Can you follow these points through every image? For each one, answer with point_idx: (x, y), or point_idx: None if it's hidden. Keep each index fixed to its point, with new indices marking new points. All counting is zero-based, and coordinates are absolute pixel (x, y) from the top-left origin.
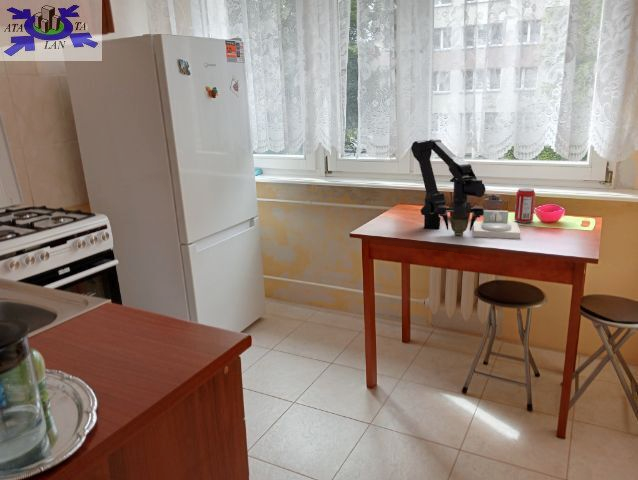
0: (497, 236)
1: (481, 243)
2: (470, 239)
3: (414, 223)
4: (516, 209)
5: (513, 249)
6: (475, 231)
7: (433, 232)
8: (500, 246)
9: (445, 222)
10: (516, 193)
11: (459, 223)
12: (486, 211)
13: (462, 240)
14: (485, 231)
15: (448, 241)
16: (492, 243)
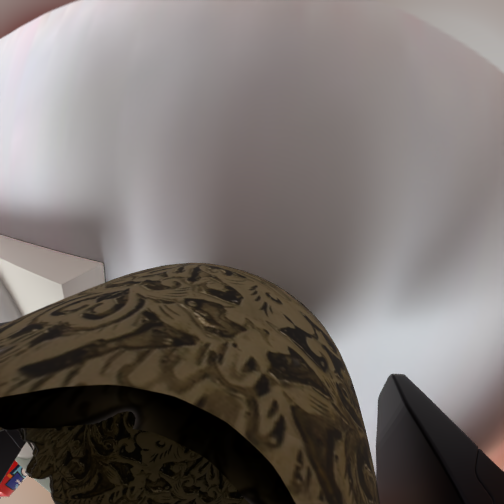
0: (2, 238)
1: (74, 54)
2: (127, 151)
3: None
4: None
5: (5, 36)
6: (55, 278)
7: (468, 397)
8: (20, 50)
9: (477, 454)
10: (3, 491)
11: (113, 315)
12: (40, 483)
13: (215, 91)
14: (8, 262)
15: (397, 46)
16: (27, 88)
